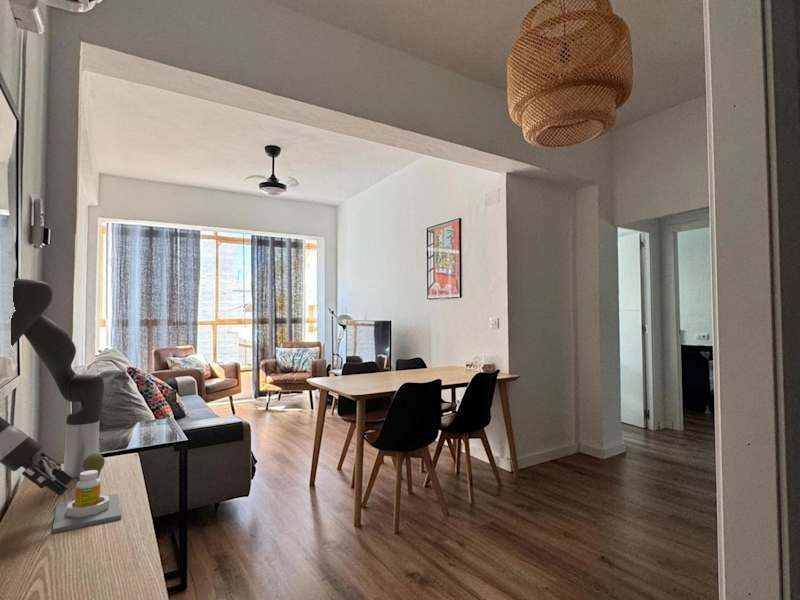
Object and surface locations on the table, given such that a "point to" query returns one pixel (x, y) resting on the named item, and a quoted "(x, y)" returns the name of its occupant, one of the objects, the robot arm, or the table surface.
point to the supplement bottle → (88, 489)
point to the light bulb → (94, 463)
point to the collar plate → (86, 513)
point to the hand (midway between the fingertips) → (66, 486)
